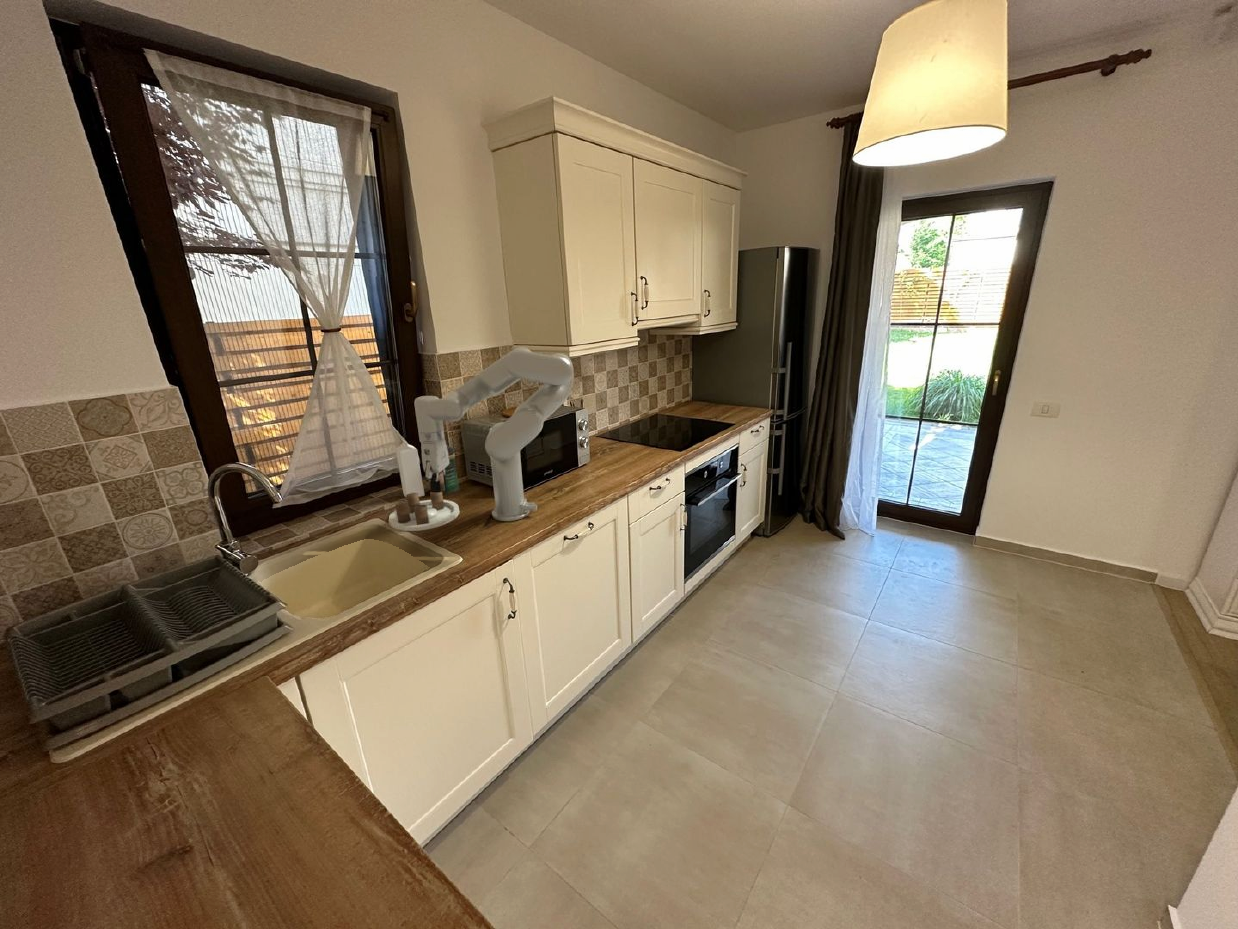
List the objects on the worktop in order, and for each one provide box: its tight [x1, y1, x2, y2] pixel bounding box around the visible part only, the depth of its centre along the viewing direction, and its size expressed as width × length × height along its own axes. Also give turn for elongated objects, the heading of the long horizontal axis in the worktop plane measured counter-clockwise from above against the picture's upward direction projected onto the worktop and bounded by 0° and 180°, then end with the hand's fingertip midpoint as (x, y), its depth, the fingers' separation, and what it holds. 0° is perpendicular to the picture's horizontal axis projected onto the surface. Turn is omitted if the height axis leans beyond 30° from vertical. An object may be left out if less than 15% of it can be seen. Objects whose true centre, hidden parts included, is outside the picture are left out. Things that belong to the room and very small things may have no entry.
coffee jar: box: [432, 444, 460, 495], centre depth 182 cm, size 10×8×19 cm
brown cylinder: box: [429, 491, 444, 510], centre depth 167 cm, size 4×4×6 cm
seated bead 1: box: [405, 493, 420, 513], centre depth 165 cm, size 4×4×6 cm
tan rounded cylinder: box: [432, 472, 445, 493], centre depth 158 cm, size 4×4×6 cm
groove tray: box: [388, 499, 460, 532], centre depth 162 cm, size 22×22×2 cm
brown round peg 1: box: [394, 501, 411, 523], centre depth 158 cm, size 4×4×6 cm
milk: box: [395, 438, 425, 498], centre depth 176 cm, size 6×6×22 cm
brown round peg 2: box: [414, 505, 429, 525], centre depth 155 cm, size 4×4×6 cm
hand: (439, 489), depth 158 cm, fingers closed on tan rounded cylinder, 3 cm apart
